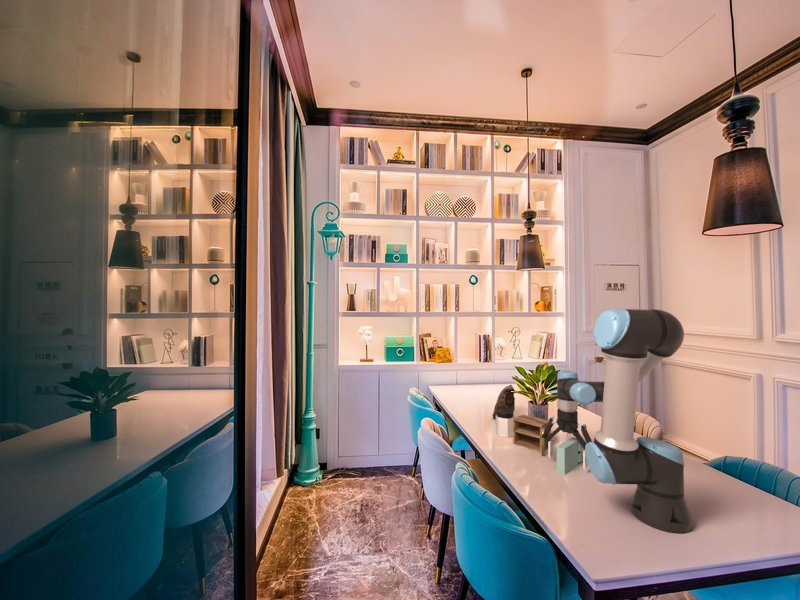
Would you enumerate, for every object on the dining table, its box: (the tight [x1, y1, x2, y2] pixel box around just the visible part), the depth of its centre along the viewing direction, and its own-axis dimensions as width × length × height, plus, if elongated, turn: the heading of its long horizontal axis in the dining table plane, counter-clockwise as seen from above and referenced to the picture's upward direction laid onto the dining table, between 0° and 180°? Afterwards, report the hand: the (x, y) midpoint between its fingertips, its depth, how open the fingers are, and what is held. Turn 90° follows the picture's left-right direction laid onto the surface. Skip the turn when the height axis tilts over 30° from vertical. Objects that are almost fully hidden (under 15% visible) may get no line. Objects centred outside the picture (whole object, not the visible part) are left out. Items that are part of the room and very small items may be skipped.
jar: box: [495, 409, 514, 438], centre depth 179 cm, size 9×8×12 cm
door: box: [556, 436, 584, 476], centre depth 143 cm, size 19×5×10 cm, turn 134°
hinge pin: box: [541, 428, 546, 457], centre depth 153 cm, size 1×1×12 cm
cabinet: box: [512, 413, 552, 453], centre depth 165 cm, size 10×14×12 cm
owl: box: [492, 384, 516, 421], centre depth 202 cm, size 13×13×20 cm
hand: (567, 461), depth 142 cm, fingers open, 13 cm apart
